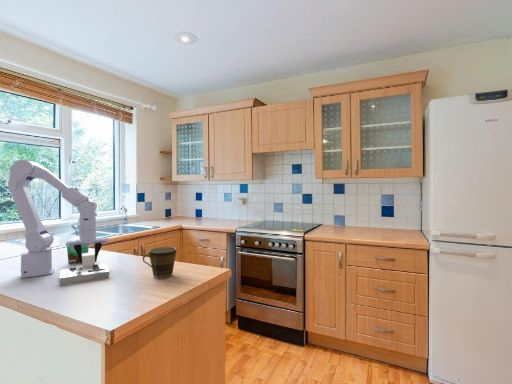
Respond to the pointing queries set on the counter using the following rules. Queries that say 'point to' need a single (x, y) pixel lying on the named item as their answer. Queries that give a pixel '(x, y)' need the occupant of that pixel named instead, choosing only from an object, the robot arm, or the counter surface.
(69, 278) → the socket
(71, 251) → the food container
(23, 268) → the robot arm
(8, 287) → the counter surface
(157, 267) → the ceramic cup
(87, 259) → the plug
